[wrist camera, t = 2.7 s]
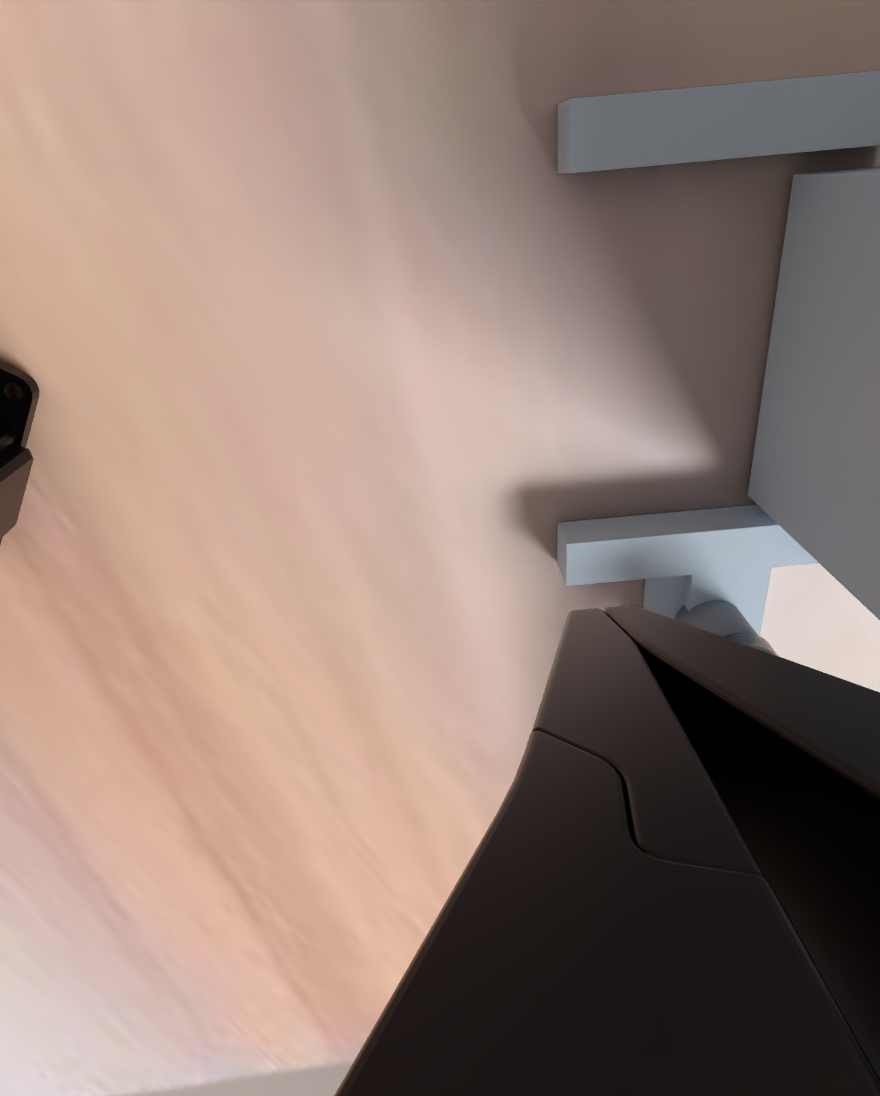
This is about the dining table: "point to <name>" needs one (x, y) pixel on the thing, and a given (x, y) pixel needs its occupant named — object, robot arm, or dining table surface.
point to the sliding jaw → (826, 380)
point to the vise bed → (681, 137)
